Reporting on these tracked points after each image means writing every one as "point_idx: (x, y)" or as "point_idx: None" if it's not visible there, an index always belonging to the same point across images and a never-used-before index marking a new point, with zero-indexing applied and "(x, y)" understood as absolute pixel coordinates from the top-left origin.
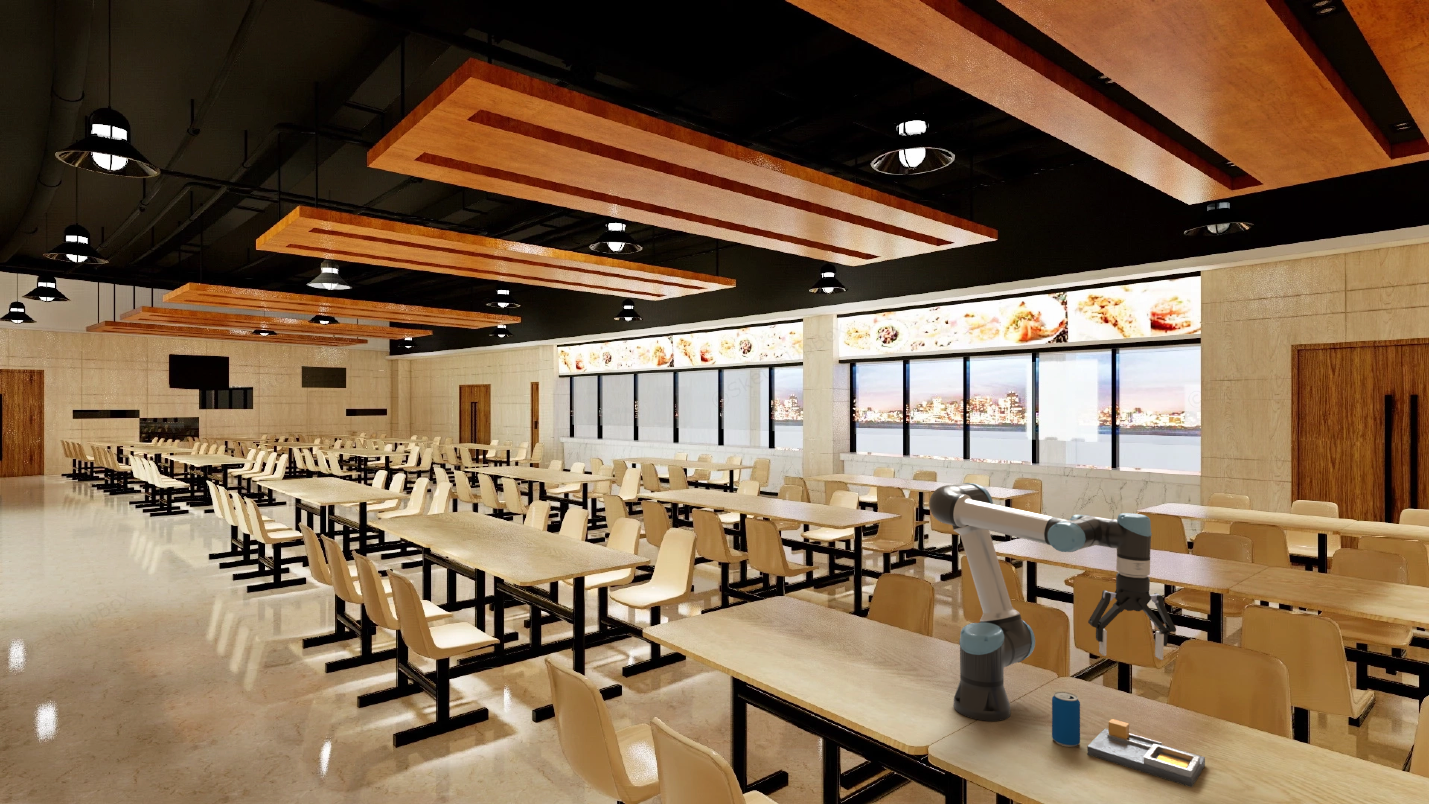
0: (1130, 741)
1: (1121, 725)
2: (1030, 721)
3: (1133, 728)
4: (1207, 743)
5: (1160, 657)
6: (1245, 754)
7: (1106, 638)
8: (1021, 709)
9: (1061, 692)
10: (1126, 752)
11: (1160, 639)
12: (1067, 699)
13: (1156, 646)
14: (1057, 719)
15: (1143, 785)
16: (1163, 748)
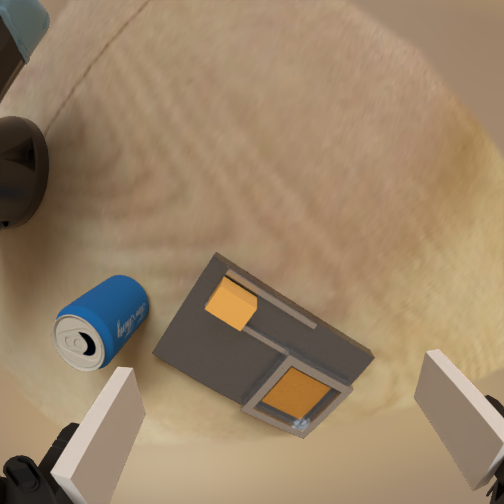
0: (246, 331)
1: (231, 324)
2: (76, 203)
3: (304, 191)
4: (428, 247)
5: (419, 404)
6: (462, 283)
7: (115, 483)
8: (72, 139)
9: (68, 316)
10: (223, 369)
11: (460, 468)
12: (80, 361)
13: (448, 396)
14: (85, 335)
15: (225, 428)
16: (300, 370)
